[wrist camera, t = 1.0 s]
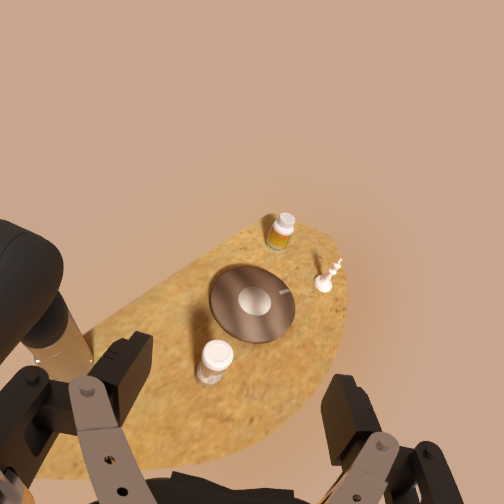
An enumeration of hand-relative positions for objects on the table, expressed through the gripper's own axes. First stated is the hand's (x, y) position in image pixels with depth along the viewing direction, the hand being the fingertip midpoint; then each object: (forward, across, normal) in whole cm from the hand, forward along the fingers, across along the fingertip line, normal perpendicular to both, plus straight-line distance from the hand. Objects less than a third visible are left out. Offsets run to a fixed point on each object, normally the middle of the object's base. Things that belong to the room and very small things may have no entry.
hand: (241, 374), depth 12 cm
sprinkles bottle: (+33, -3, -28) cm, 43 cm away
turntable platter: (+47, +3, -18) cm, 50 cm away
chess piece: (+59, +20, -14) cm, 64 cm away
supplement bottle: (+66, +6, -9) cm, 67 cm away
